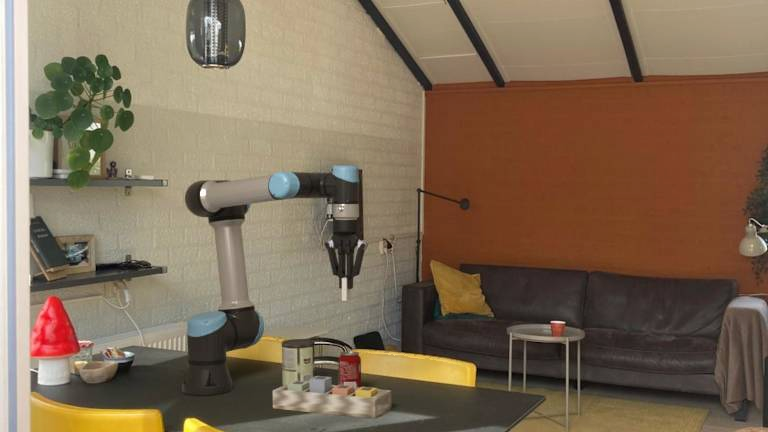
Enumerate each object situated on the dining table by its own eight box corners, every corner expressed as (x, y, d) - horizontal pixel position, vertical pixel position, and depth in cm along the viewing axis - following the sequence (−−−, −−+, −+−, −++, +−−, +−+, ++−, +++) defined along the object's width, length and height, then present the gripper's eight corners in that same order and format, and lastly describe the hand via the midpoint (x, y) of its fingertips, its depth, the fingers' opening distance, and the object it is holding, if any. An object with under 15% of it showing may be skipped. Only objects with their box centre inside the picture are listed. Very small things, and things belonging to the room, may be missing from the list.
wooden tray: (272, 408, 237) (272, 390, 237) (292, 398, 248) (292, 381, 248) (374, 418, 226) (374, 400, 225) (391, 408, 237) (391, 390, 237)
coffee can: (292, 381, 270) (292, 337, 270) (321, 384, 266) (320, 340, 265) (275, 388, 261) (275, 343, 260) (304, 391, 256) (304, 345, 256)
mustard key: (355, 408, 232) (355, 389, 232) (362, 404, 236) (362, 386, 236) (370, 410, 230) (370, 391, 230) (377, 406, 234) (377, 387, 234)
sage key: (287, 401, 239) (287, 383, 239) (295, 398, 244) (295, 380, 244) (302, 403, 238) (301, 384, 238) (309, 399, 242) (309, 381, 242)
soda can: (358, 395, 252) (358, 355, 251) (336, 394, 253) (336, 354, 253) (363, 390, 258) (363, 351, 258) (341, 389, 260) (341, 350, 259)
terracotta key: (332, 406, 234) (332, 387, 234) (339, 402, 239) (339, 384, 238) (347, 407, 233) (347, 388, 232) (354, 403, 237) (354, 385, 237)
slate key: (309, 396, 237) (309, 378, 237) (317, 393, 241) (316, 375, 241) (324, 398, 235) (324, 379, 235) (331, 394, 239) (331, 376, 239)
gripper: (319, 219, 243) (320, 300, 244) (361, 219, 238) (361, 302, 239) (331, 218, 250) (331, 297, 251) (371, 218, 245) (371, 299, 246)
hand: (346, 300), depth 245 cm, fingers closed
